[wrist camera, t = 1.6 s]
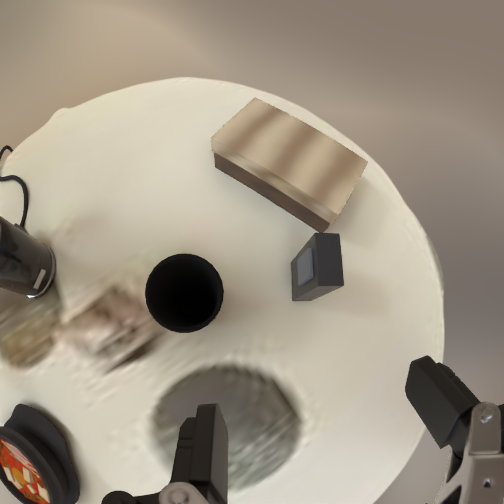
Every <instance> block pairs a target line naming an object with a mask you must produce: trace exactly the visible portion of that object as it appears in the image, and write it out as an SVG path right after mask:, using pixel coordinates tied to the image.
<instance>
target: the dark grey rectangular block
mask: <svg viewBox="0 0 504 504" xmlns="http://www.w3.org/2000/svg"><path fill="white" fill-rule="evenodd" d="M291 271H292V300H293V301H311V300H314V299H316V298H318V297H320V296H322V295H325V294H327V293H329V292H331V291H333V290H335V289H338V288H340V287H342V286H344V280H343V267H342V256H341V245H340V236H339V234H334V233H314V235H313V236H312V237H311V238H310V240H309V241H308V242H307V243H306V245H305V246H304V247H303V248H302V250H301V251H300V252H299V253H298V254H297V256H296V257H295V258H294V259H293V261H292V262H291Z"/></svg>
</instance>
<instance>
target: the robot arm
mask: <svg viewBox="0 0 504 504" xmlns="http://www.w3.org/2000/svg"><path fill="white" fill-rule="evenodd" d="M6 149H8V150H9V151H10V152H11V153H12V152H13V151H14V150H13V149H12V148H11V147H10V146H5V147H3V149H2V150H1V152H0V159H1V156H2V154H3V152H4V151H5V150H6ZM10 179H14V180H16V181H17V182H19V183H20V184H21V186H22V188H23V193H24V211H23V217H22V221H21V223H20V225H18V224H16V223H15V224H14V225H13V224H11V223H10V222H8V221H7V220H5V219H4V218H2V217H1V216H0V287H1V288H4V289H7V290H10V291H14V292H17V293H20V294H23V295H25V296H28V297H31V298H38V297H40V296H42V295H44V294H45V293H46V292H47V291H48V289H49V288H50V286H51V284H52V282H53V280H54V276H55V270H56V262H55V257H54V254H53V252H52V250H51V249H50V247H48V246H47V245H45V244H44V243H42V242H39V241H38V240H36V239H35V238H33V237H31V236H30V235H29V234H28V233H27V231H26V230H25V229H24V228H23V226H24V223H25V219H26V214H27V209H28V194H27V188H26V185H25V183H24V182H23V181H22V180H21V179H20V178H19V177H17V176H14V175H10V176H6V177H0V181H5V180H10ZM405 392H406V396H407V398H408V400H409V401H410V403H411V404H412V406H413V407H414V409H415V410H416V412H417V413H418V415H419V416H420V418H421V419H422V421H423V422H424V424H425V425H426V427H427V429H428V430H429V431H430V433H431V434H432V436H433V438H434V439H435V441H436V443H437V444H438V445H439V447H440V449H441V448H443V447H445V446H447V445H448V444H449V445H450V446H451V449H450V452H449V457H448V462H447V467H446V472H445V476H444V480H443V484H442V487H441V489H440V491H439V493H438V495H437V497H436V499H435V501H434V504H502V503H503V497H504V404H502V405H499V406H497V405H495V404H494V403H491V402H480V401H479V400H478V399H477V398H476V397H475V395H474V394H473V393H472V392H471V391H470V390H469V389H468V388H467V387H466V385H465V384H464V383H463V382H461V381H460V379H459V378H458V377H457V376H455V373H453V371H452V370H451V369H450V368H449V367H447V366H445V365H443V364H441V363H437V364H436V363H435V361H434V360H433V359H432V358H431V357H430V356H424V357H421V358H419V359H416V360H414V361H412V362H411V364H410V368H409V373H408V377H407V382H406V386H405ZM178 438H179V440H178V442H177V448H176V453H175V459H174V464H173V470H172V476H171V480H170V482H169V484H168V485H167V486H165V487H164V488H163V489H162V490H161V491H160V492H158V493H155V494H150V495H143V496H136V497H133V496H132V495H131V494H129V493H127V492H124V491H113V492H110V493H109V494H107V495H106V496H105V497H104V498H103V500H102V503H101V504H227V493H228V431H227V427H226V424H225V421H224V418H223V416H222V413H221V410H220V407H219V405H218V404H217V403H216V404H202V405H198V408H197V415H196V417H193V418H187V419H186V420H185V422H184V423H183V424H182V426H181V427H180V432H179V437H178Z"/></svg>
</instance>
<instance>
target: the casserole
mask: <svg viewBox="0 0 504 504" xmlns="http://www.w3.org/2000/svg"><path fill="white" fill-rule="evenodd" d="M0 479H1V481H2V482H3V484H4V485H5V486H6V488H7V489H8V490H9V491H10V492H11V493H12V494H13V495H14V496H15V497H16V498H17V499H18V500H19V501H20V502H22V503H23V504H75V503H76V502H77V501H78V498H79V495H80V492H79V484H78V480H77V477H76V475H75V473H74V470H73V468H72V466H71V463H70V460H69V456H68V451H67V446H66V442H65V441H64V439H63V437H62V435H61V434H60V432H59V431H58V430H57V428H56V427H55V426H54V425H53V424H52V423H51V422H50V421H49V420H48V419H47V418H46V417H45V416H43V415H42V414H41V413H40V412H38V411H37V410H35V409H34V408H32V407H29V406H27V405H24V404H19V405H17V406H16V407H15V409H14V411H13V413H12V416H11V417H10V418H9V420H8V421H7V422H6V423H5V424H4V427H0Z"/></svg>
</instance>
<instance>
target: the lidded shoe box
mask: <svg viewBox="0 0 504 504" xmlns="http://www.w3.org/2000/svg"><path fill="white" fill-rule="evenodd" d="M211 146H212V151H213V152H214V157H215V167H216V168H218V169H219V170H221V171H223V172H224V173H226V174H228V175H229V176H231V177H233V178H234V179H236V180H238V181H239V182H241V183H243V184H244V185H246V186H248V187H249V188H251V189H253V190H254V191H256V192H257V193H259V194H261V195H262V196H264V197H266V198H267V199H269V200H270V201H272V202H273V203H275V204H277V205H278V206H280V207H281V208H283V209H285V210H286V211H288V212H289V213H291V214H292V215H294V216H295V217H297V218H298V219H300V220H301V221H303V222H305V223H306V224H308V225H309V226H311V227H312V228H314V229H315V230H317V231H318V232H320V233H323V232H324V231H325V230H326V229H327V228H328V227H329V226H330V224H332V223H333V222H334V221H335V220H336V218H337V217H338V216H339V215H340V213H341V211H342V209H343V208H344V206H345V204H346V202H347V200H348V199H349V197H350V195H351V193H352V191H353V189H354V188H355V186H356V184H357V182H358V180H359V178H360V176H361V175H362V173H363V171H364V169H365V167H366V165H367V163H368V162H367V161H366V160H365V159H363V158H362V157H360V156H359V155H357V154H356V153H354V152H352V151H351V150H349V149H348V148H346V147H345V146H343V145H342V144H340V143H338V142H337V141H335V140H333V139H332V138H330V137H329V136H327V135H325V134H323V133H322V132H320V131H318V130H317V129H315V128H313V127H311V126H310V125H308V124H306V123H304V122H302V121H301V120H299V119H297V118H295V117H293V116H291V115H289V114H288V113H286V112H284V111H282V110H280V109H278V108H276V107H274V106H272V105H270V104H268V103H266V102H264V101H262V100H259V99H257V98H254V99H253V100H251V101H250V102H249V103H248V104H247V105H246V106H245V107H243V108H242V109H241V110H240V111H239V112H238V113H237V114H236V115H235V116H234V117H232V118H231V119H230V120H229V121H228V122H227V123H226V124H225V125H224V126H223V127H222V128H221V129H220V130H219V131H218V132H217V133H216V134H215V135H214V136H213V137H211Z"/></svg>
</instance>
